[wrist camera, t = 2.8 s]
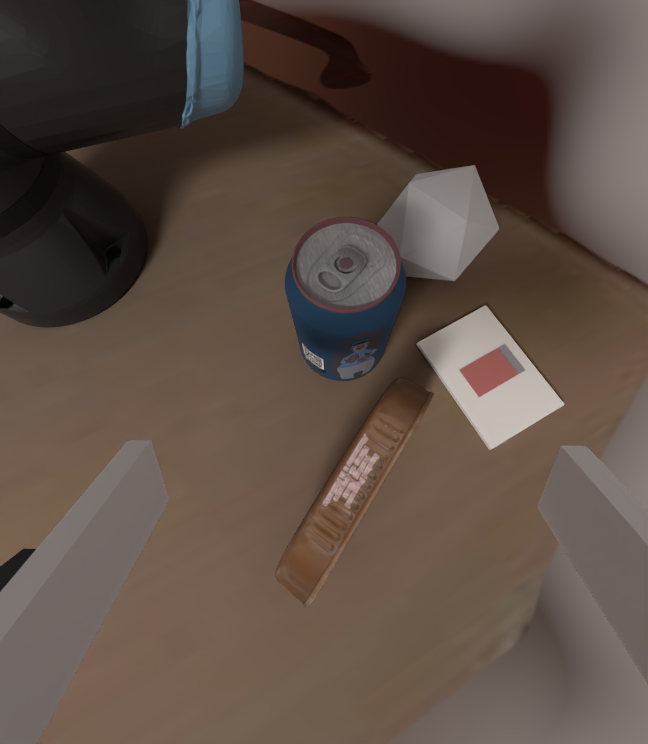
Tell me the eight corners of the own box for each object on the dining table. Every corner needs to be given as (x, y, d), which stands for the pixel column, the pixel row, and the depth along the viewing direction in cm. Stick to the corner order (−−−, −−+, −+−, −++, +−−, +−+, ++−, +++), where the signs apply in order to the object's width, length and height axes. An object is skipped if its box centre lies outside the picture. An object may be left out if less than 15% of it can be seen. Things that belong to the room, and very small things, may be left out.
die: (451, 213, 34) (408, 130, 27) (530, 236, 28) (499, 137, 21) (396, 280, 35) (342, 216, 29) (460, 316, 29) (410, 246, 23)
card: (416, 344, 29) (417, 342, 29) (483, 307, 30) (486, 304, 30) (489, 449, 27) (492, 449, 26) (561, 405, 27) (565, 404, 27)
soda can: (337, 295, 31) (338, 186, 20) (399, 341, 29) (440, 253, 18) (284, 350, 30) (252, 268, 18) (347, 402, 28) (354, 348, 17)
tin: (315, 587, 24) (306, 641, 16) (279, 559, 25) (252, 597, 17) (421, 410, 28) (456, 381, 20) (387, 389, 28) (407, 353, 20)
